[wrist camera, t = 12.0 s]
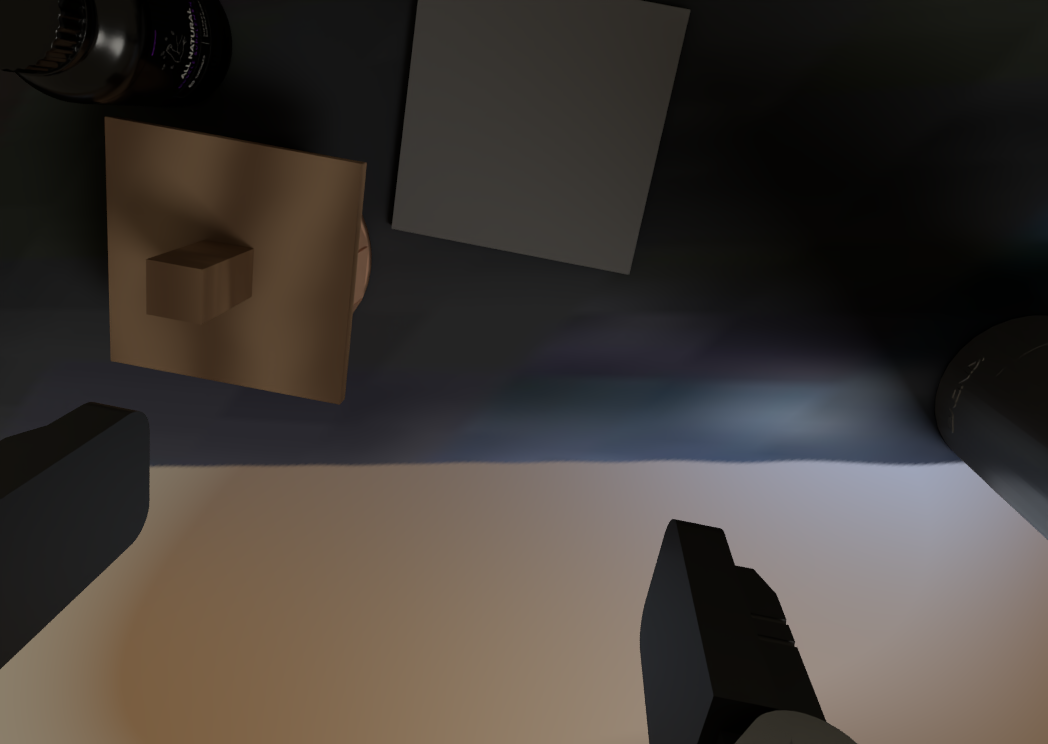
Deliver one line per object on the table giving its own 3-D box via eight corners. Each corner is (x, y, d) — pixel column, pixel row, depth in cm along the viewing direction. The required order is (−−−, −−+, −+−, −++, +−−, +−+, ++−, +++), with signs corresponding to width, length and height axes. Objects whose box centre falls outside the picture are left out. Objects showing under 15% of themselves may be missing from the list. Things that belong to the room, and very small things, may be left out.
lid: (366, 162, 34) (324, 172, 29) (344, 398, 38) (304, 446, 33) (115, 116, 34) (26, 117, 29) (120, 355, 38) (43, 396, 33)
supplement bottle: (260, 77, 38) (123, 63, 27) (150, 126, 39) (-25, 133, 28) (196, -63, 36) (19, -142, 25) (82, -7, 37) (-135, -57, 26)
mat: (689, 11, 35) (690, 9, 35) (628, 272, 40) (628, 274, 39) (424, -39, 36) (422, -41, 35) (393, 227, 40) (391, 228, 40)
